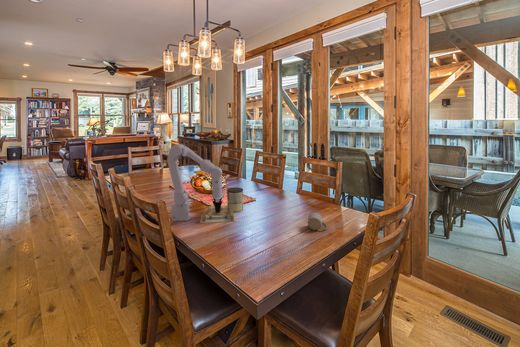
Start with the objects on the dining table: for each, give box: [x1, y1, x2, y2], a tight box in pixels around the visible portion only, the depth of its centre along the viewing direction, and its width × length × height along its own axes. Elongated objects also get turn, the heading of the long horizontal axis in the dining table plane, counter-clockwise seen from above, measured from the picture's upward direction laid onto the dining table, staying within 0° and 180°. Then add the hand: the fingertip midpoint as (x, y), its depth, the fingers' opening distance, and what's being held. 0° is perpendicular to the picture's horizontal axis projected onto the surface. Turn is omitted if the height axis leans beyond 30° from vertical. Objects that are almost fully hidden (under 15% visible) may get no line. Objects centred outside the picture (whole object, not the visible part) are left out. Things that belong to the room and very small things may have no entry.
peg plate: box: [200, 210, 237, 224], centre depth 172 cm, size 20×12×3 cm, turn 98°
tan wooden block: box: [206, 205, 229, 216], centre depth 172 cm, size 12×4×5 cm, turn 97°
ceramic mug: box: [307, 212, 329, 231], centre depth 156 cm, size 11×8×8 cm
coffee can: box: [226, 186, 244, 214], centre depth 187 cm, size 10×10×14 cm
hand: (217, 210), depth 172 cm, fingers open, 7 cm apart
